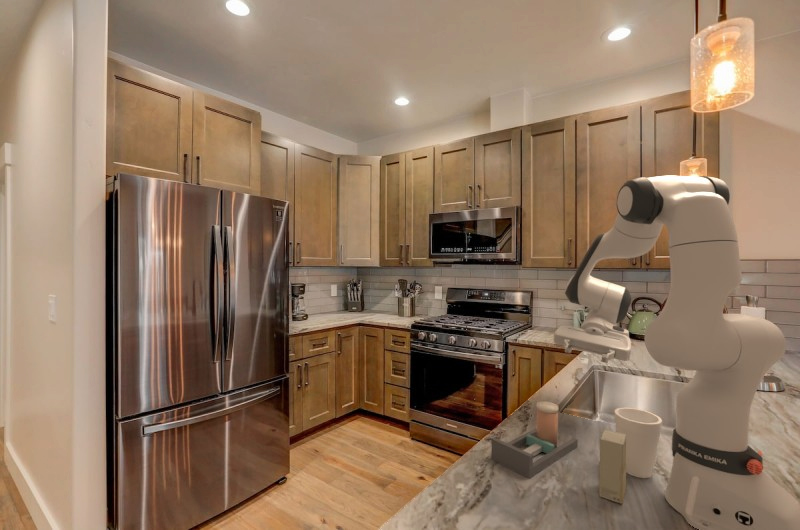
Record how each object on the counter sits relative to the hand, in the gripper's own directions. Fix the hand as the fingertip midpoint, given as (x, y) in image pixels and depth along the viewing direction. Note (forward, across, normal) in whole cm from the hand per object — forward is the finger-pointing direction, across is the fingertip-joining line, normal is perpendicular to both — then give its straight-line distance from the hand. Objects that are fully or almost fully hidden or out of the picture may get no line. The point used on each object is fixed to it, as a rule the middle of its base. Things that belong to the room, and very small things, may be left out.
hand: (585, 355), depth 103 cm
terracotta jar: (+19, -4, +18) cm, 27 cm away
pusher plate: (+25, -6, +17) cm, 30 cm away
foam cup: (+17, +16, +17) cm, 29 cm away
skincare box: (+30, +12, +13) cm, 35 cm away
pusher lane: (+23, -5, +17) cm, 29 cm away
